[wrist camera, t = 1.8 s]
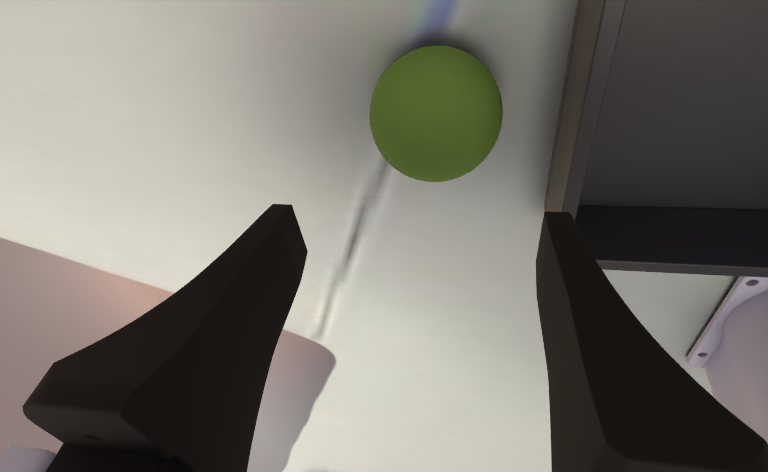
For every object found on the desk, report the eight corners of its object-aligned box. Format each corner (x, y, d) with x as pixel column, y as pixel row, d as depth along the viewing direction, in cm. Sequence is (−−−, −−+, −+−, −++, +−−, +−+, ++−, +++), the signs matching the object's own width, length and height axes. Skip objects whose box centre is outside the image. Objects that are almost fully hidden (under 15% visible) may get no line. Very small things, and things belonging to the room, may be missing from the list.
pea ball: (498, 134, 21) (498, 210, 18) (388, 134, 22) (368, 206, 19) (506, 19, 17) (508, 86, 14) (374, 26, 18) (346, 90, 15)
